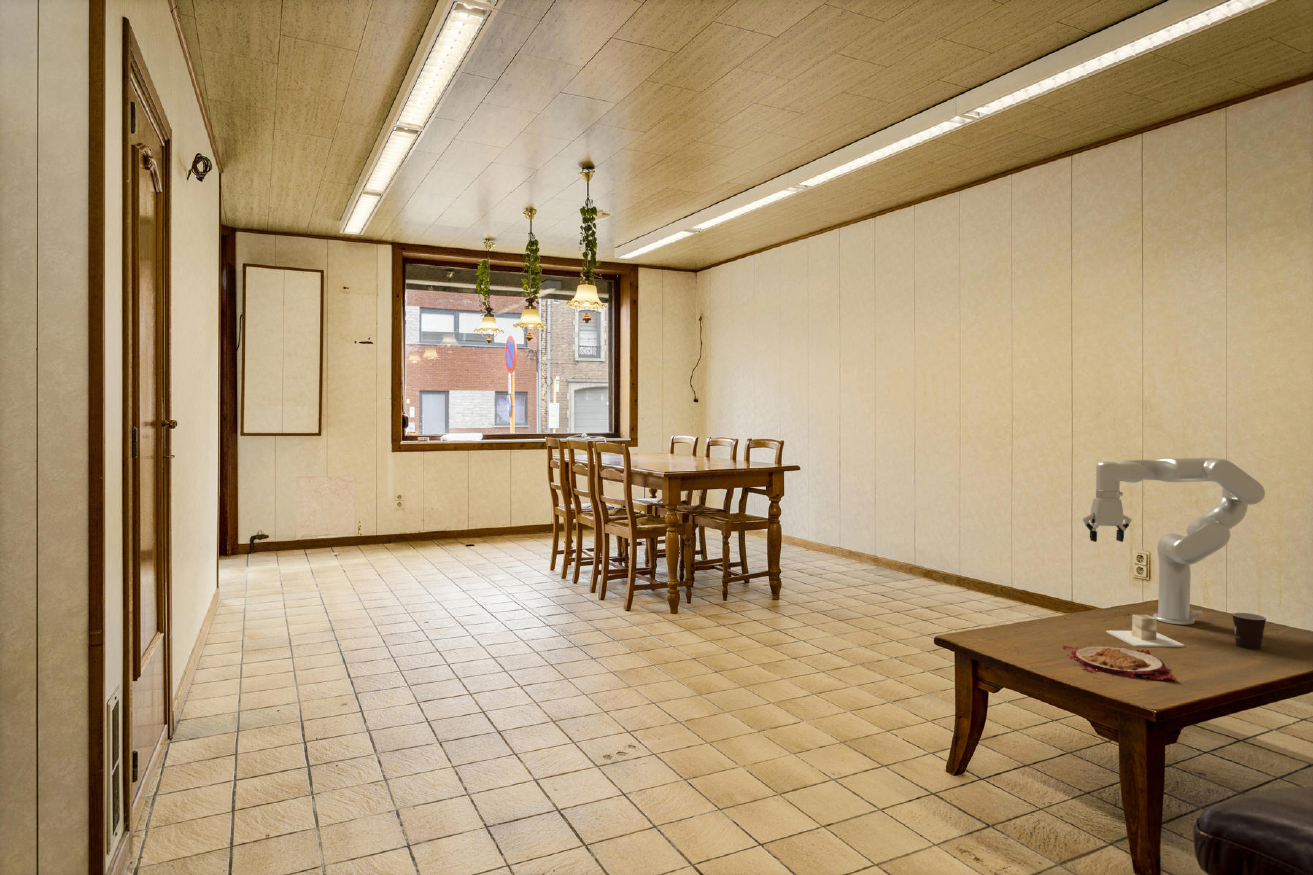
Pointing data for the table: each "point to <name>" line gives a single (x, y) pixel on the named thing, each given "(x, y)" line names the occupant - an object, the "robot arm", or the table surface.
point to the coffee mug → (1248, 630)
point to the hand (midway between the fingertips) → (1106, 541)
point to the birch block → (1144, 627)
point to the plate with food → (1121, 662)
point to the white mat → (1159, 642)
